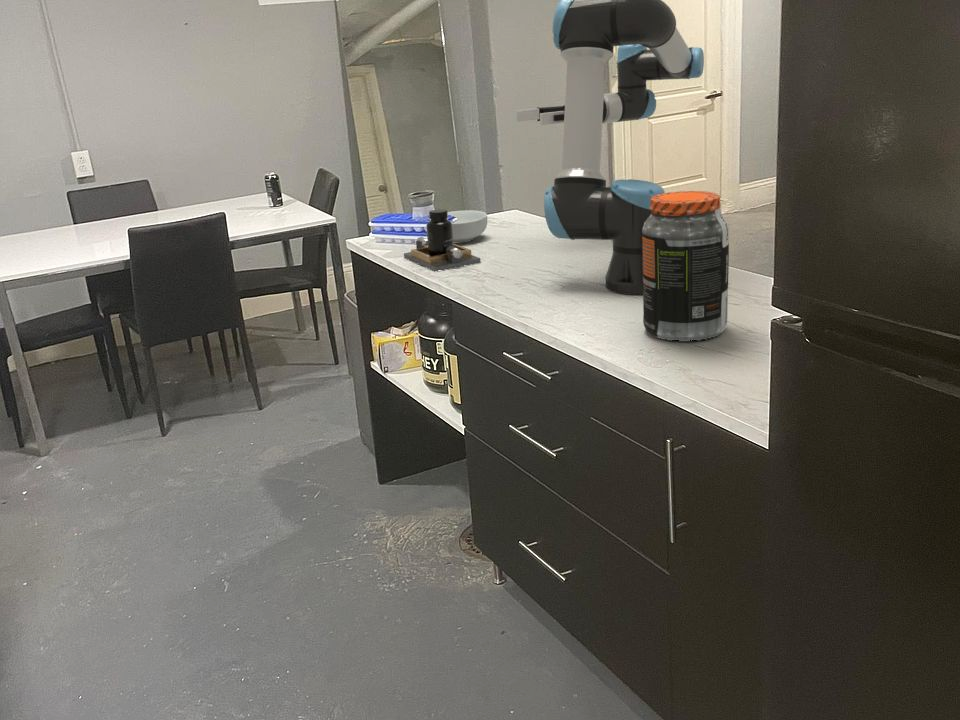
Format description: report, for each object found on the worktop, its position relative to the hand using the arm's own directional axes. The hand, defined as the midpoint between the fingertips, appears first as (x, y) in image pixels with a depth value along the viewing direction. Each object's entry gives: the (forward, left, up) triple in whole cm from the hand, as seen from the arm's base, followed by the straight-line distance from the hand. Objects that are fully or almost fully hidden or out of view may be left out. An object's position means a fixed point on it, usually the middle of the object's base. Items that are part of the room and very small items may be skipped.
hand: (528, 117), depth 228 cm
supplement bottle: (+3, +25, -34) cm, 42 cm away
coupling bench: (+3, +25, -35) cm, 43 cm away
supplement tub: (-74, -13, -35) cm, 83 cm away
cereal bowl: (+25, +17, -35) cm, 46 cm away
